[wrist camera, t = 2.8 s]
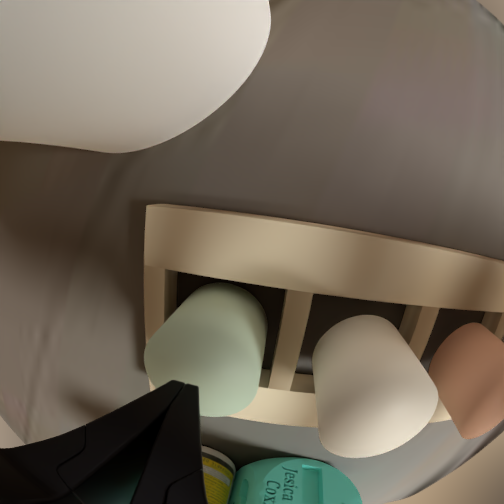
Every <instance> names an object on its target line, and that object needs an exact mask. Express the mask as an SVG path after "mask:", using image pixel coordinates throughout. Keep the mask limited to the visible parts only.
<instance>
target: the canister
mask: <svg viewBox="0 0 504 504" xmlns="http://www.w3.org/2000/svg"><path fill="white" fill-rule="evenodd" d="M270 25H271V15H270V7H269V0H0V141H14V142H26V143H37V144H46V145H55V146H63V147H71V148H78V149H85V150H92V151H98V152H105V153H126V152H132V151H137V150H142V149H145V148H149V147H152V146H155V145H157V144H160V143H163V142H165V141H167V140H169V139H172V138H174V137H176V136H178V135H179V134H181V133H183V132H185V131H187V130H188V129H190V128H192V127H193V126H195V125H196V124H198V123H199V122H201V121H202V120H204V119H205V118H206V117H208V116H209V115H210V114H212V113H213V112H214V111H215V110H217V109H218V108H219V107H220V106H221V105H222V104H224V103H225V102H226V101H227V100H228V99H229V98H230V97H231V96H232V95H233V94H234V93H235V92H236V91H237V90H238V89H239V87H240V86H241V85H242V84H243V83H244V82H245V80H246V79H247V78H248V76H249V75H250V74H251V72H252V71H253V69H254V68H255V66H256V65H257V63H258V61H259V59H260V57H261V55H262V53H263V51H264V49H265V46H266V44H267V40H268V37H269V32H270Z"/></svg>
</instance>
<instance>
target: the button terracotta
mask: <svg viewBox="0 0 504 504" xmlns="http://www.w3.org/2000/svg"><path fill="white" fill-rule="evenodd" d="M428 375H429V376H430V378H431V379H432V381H433V382H434V384H435V386H436V387H437V391H438V397H439V398H440V400H441V401H442V403H443V405H444V406H445V408H446V410H447V411H448V413H449V415H450V417H451V418H452V420H453V422H454V424H455V425H456V427H457V429H458V431H459V432H460V434H461V436H462V437H463V438H465V439H472V438H476V437H478V436H481V435H483V434H484V433H486V432H488V431H489V430H491V429H492V428H493V427H495V426H496V425H497V424H498V423H500V422H501V421H502V420H503V419H504V343H503V342H502V341H501V340H500V339H499V338H498V337H496V336H495V335H494V334H493V333H492V332H490V331H489V330H488V329H487V328H486V327H484V326H483V325H482V324H480V323H468V324H465V325H463V326H461V327H459V328H458V329H456V330H455V331H454V332H452V333H451V334H450V335H449V336H448V337H447V338H446V339H445V340H444V341H443V342H442V344H441V345H440V346H439V348H438V349H437V351H436V352H435V354H434V356H433V358H432V360H431V363H430V366H429V371H428Z"/></svg>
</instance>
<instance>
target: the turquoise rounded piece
mask: <svg viewBox="0 0 504 504" xmlns="http://www.w3.org/2000/svg"><path fill="white" fill-rule="evenodd" d="M228 504H362V500H361V497H360V494H359V492H358V490H357V489H356V487H355V486H354V484H353V483H352V482H351V481H350V480H349V479H348V477H346V476H345V475H344V474H343V473H342V472H340V471H339V470H337V469H336V468H334V467H332V466H330V465H328V464H326V463H323V462H321V461H317V460H313V459H308V458H298V457H279V458H270V459H264V460H259V461H256V462H253V463H250V464H248V465H245V466H243V467H242V468H240V469H239V470H238V471H237V472H236V473H235V477H234V482H233V486H232V490H231V494H230V498H229V502H228Z"/></svg>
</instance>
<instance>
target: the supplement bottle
mask: <svg viewBox="0 0 504 504" xmlns="http://www.w3.org/2000/svg"><path fill="white" fill-rule="evenodd" d="M202 459H203V471H204V482H205V489H206V496H207V500H208V504H228V502H229V498H230V494H231V490H232V486H233V482H234V477H235V473H236V469H235V466H234V464H233V462H232V461H231V460H230V459H229V458H228V457H226V456H225V455H224V454H222V453H220V452H218V451H216V450H214V449H211V448H209V447H206V446H202Z"/></svg>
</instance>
